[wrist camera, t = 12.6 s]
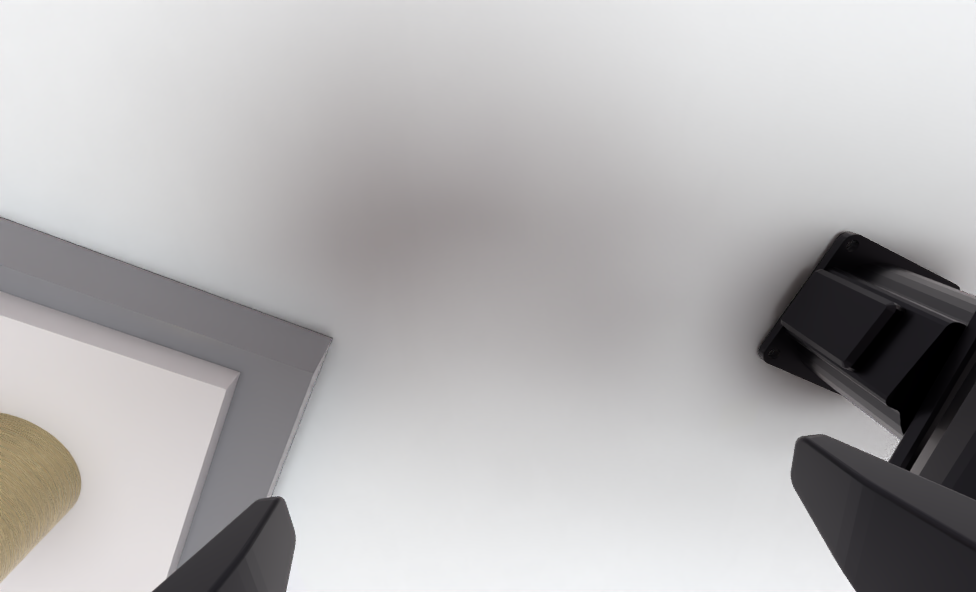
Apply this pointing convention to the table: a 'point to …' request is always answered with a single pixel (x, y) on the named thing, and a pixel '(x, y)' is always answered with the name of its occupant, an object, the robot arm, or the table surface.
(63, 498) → the brass weight
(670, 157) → the table surface
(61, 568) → the scale
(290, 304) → the table surface
